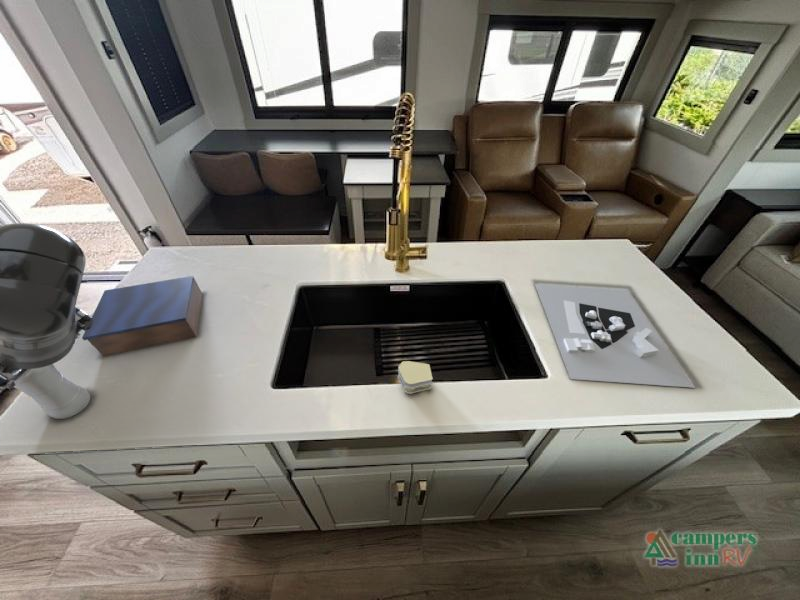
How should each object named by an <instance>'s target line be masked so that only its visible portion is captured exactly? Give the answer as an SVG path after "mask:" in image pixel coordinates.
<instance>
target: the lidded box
mask: <svg viewBox="0 0 800 600" xmlns="http://www.w3.org/2000/svg"><path fill="white" fill-rule="evenodd" d="M202 302H203V293H202V290H201V288H200V286H199V285H198V283H197V281H196V279H195V278H194V282H193V287H192V292H191V298H190V303H189V309H188V314H187V320H185V321H180V322H175V323H170V324H165V325H160V326H155V327H149V328H144V329H139V330H134V331H129V332H124V333H119V334H114V335H109V336H104V337H99V338H93V339H88V340H87V341H88V342H89V343H90V345H92V346H93V347H94V348H95V349H96V350H97V352H98V353H100V355H101V356H102V357H107V356H111V355H115V354H119V353H125V352H131V351H135V350H139V349H144V348H149V347H154V346H158V345H163V344H168V343H173V342H178V341H183V340H186V339H187V340H188V339H191V338H196V337H197V335H198V329H199V328H198V327H199V321H200V316H201V315H200V314H201V308H202Z"/></svg>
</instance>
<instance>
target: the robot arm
mask: <svg viewBox="0 0 800 600" xmlns="http://www.w3.org/2000/svg"><path fill="white" fill-rule="evenodd" d="M86 263H87V258H86V255H85V252H84V251H83V249H82V248H81V246H79V244H78V243H77V242H76V241H75V240H73V239H72V238H71V237H69V236H68V235H66V234H65V233H63V232H61V231H59V230H57V229H55V228H52V227H48V226H45V225H42V224H37V223H25V222H22V223H21V222H17V223H8V224H3V225H0V392H1V391H5V390H6V389H8V390H11V389H13V388H15V387H14V386H16V385H15V383H14V381H16V380H18V379H20V378H22V377H24V376H25V375H26V374H27V373H28V372H29V371H30V370H31V369H35V368H41V367H45V366H49V365H51V364H53V365H55V364H56V363H58V362H59V361H61V360H63V359H64V358H65V357H66V356H67V355H69V354H70V352H71V350H73V347H74V344H75V342H76V340H77V339H79V338H80V336H81V333H80V332H82V330H83V331H84V332H85V331H86V330H89V329H90V328H91V326H92V320H93V317H92V316H91V315H90V314H88V312H86V311H84V310H83V309H81V308H80V307H79V306H76V305H77V301H78V296H79V292H80V289H81V286H82V285H81V284H82V281H83V277H84V274H85V273H84V272H85V269H86V265H87V264H86ZM19 369H22V370H19ZM2 374H3V375H2Z"/></svg>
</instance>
